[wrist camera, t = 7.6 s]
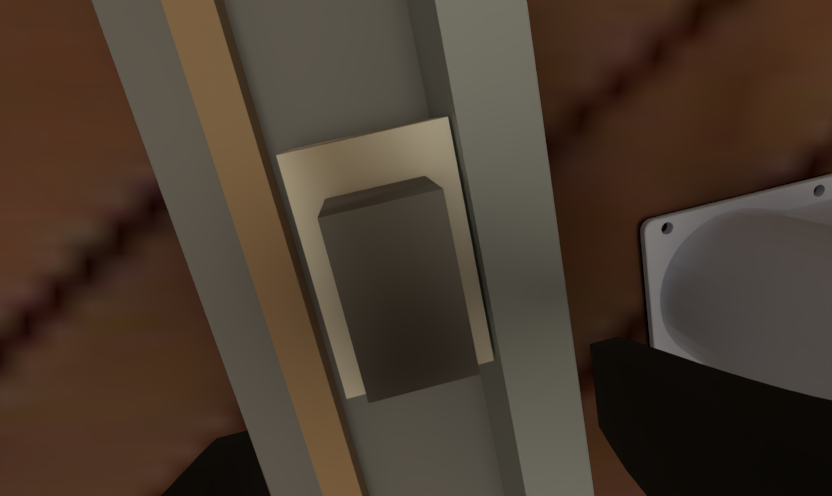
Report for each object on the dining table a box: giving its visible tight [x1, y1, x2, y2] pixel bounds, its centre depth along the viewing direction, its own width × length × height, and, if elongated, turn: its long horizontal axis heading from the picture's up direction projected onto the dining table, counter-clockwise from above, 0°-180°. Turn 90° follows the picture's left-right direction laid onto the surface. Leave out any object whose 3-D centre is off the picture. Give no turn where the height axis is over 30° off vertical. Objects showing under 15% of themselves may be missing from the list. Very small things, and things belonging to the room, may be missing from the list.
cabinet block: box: [276, 117, 494, 403], centre depth 15 cm, size 5×8×7 cm, turn 12°
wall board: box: [92, 0, 594, 496], centre depth 17 cm, size 13×28×6 cm, turn 12°
